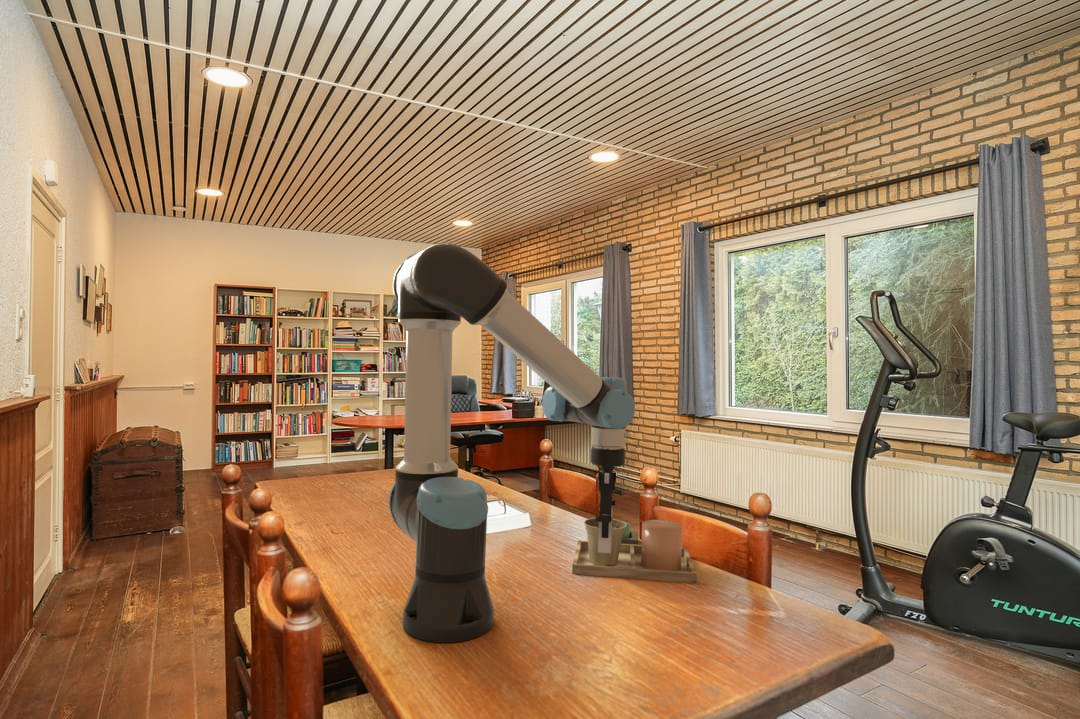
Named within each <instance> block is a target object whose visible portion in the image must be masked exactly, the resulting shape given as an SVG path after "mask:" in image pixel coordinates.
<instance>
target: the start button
mask: <svg viewBox="0 0 1080 719" xmlns="http://www.w3.org/2000/svg"><path fill="white" fill-rule="evenodd" d="M621 521H622V522H624V523H626V525H627V526H626V528H625V529H624V533H623V534H622V537H623V538H630V531H631V524H630V522H627V521H623V520H621Z"/></svg>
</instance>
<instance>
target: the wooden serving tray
mask: <svg viewBox="0 0 1080 719" xmlns="http://www.w3.org/2000/svg"><path fill="white" fill-rule="evenodd" d="M575 548H576V549H575V552H574V557H573V561H572V567H571V574H573V575H583V576H584V575H585V576H595V577H597V576H598V577H608V578H609V577H610V578H613V577H614V578H621V579H623V578H624V579H637V580H648V581H661V582H675V583H687V584H697V579H698V578H697V577H698V576H697V575H698V574H697V572H696V568H695V566H694V564H693V559H692V558H691V556H690V553H689V550H688V548H687V547H682V552H681V570H680V571H665V570H651V569H644V568H643V567H642V566H641V544H638V545H635V544H621V546H620V551H619V557H618V563H617V564H616V565H613V566H611V565H607V566H600V565H595V564H593V563H592V562H591V561H589V548H588V540H577V544H576V547H575Z"/></svg>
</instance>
